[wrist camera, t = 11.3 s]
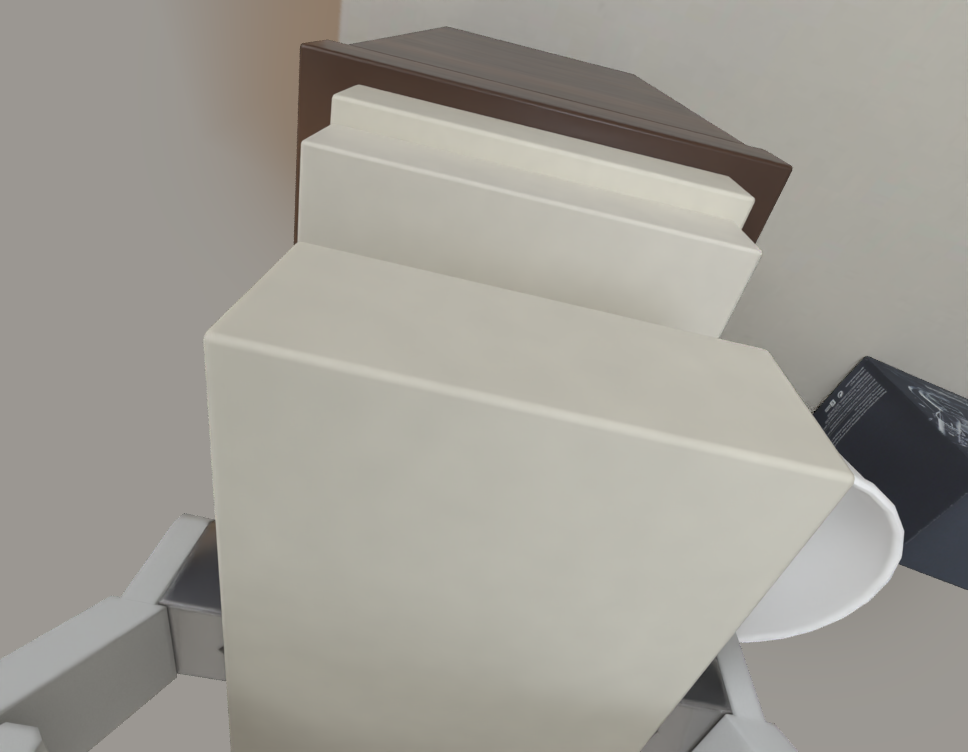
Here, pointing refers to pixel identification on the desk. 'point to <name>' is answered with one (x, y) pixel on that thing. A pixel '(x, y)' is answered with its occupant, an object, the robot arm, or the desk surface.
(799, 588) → the cup
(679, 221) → the white books
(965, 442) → the small box
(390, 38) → the walnut shelf
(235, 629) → the ivory book
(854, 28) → the desk surface
